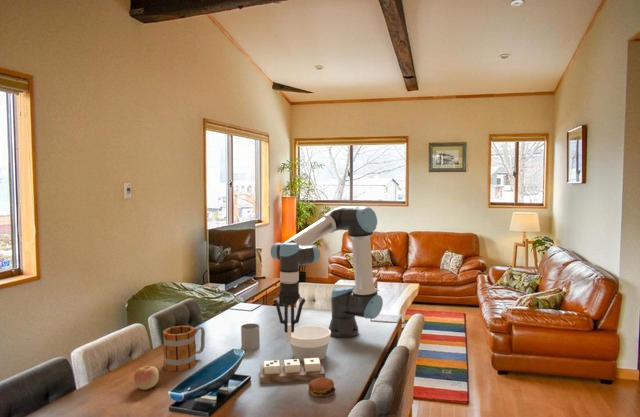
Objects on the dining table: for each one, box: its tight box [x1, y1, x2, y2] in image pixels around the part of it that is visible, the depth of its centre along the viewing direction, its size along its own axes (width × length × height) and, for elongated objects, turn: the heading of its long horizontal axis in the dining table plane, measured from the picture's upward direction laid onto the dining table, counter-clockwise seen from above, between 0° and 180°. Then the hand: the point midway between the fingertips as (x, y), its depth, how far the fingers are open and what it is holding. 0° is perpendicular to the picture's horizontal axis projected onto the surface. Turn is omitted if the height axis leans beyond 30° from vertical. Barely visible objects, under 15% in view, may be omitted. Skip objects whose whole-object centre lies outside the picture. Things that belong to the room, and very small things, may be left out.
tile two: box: [283, 358, 301, 373], centre depth 191 cm, size 6×6×4 cm
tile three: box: [263, 359, 280, 374], centre depth 190 cm, size 6×6×4 cm
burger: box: [308, 377, 336, 398], centre depth 176 cm, size 10×9×5 cm
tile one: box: [303, 358, 321, 372], centre depth 192 cm, size 6×6×4 cm
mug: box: [162, 325, 206, 372], centre depth 206 cm, size 20×14×15 cm
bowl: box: [289, 324, 331, 362], centre depth 212 cm, size 19×19×11 cm
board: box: [259, 361, 326, 385], centre depth 192 cm, size 25×12×2 cm, turn 97°
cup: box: [240, 323, 261, 351], centre depth 224 cm, size 8×8×10 cm
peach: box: [133, 365, 160, 391], centre depth 182 cm, size 9×9×8 cm
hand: (289, 340), depth 193 cm, fingers closed
